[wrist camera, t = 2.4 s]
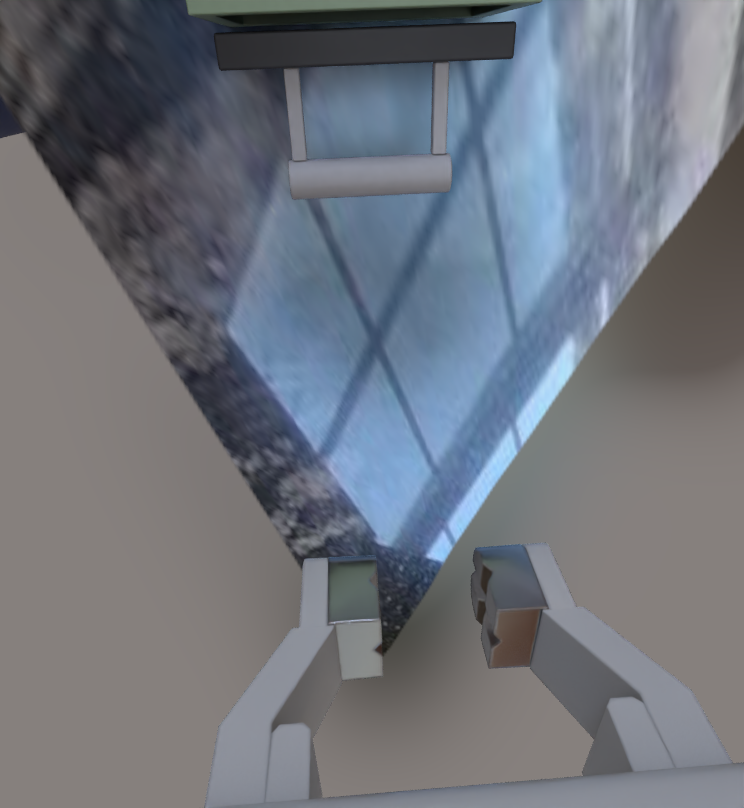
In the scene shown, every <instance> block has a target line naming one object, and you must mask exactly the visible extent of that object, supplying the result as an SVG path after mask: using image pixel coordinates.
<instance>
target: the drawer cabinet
mask: <svg viewBox="0 0 744 808" xmlns="http://www.w3.org/2000/svg"><path fill="white" fill-rule="evenodd" d="M541 1H542V0H186V4H187V10H188V14H189V15H191V16H194V17H197V18H201V19H204V20H208V21H211V22H215V23H218V24H222V25H225V26H229V27H245V26H271V25H297V24H323V23H350V22H376V21H402V20H428V19H454V18H481V17H486V16H490V15H494V14H498V13H502V12H506V11H509V10H513V9H517V8H521V7H525V6H529V5H532V4H536V3H540V2H541Z"/></svg>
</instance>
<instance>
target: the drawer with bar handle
mask: <svg viewBox="0 0 744 808" xmlns="http://www.w3.org/2000/svg"><path fill="white" fill-rule="evenodd" d="M515 33H516V22H514V21H512V22H486V23H460V24H434V25H408V26H382V27H356V28H330V29H304V30H279V31H253V32H227V33H215V34H214V40H215V47H216V53H217V59H218V66H219V69H220V70H221V71H227V70H251V69H276V68H284V69H283V71H284V81H285V90H286V100H287V110H288V119H289V129H290V139H291V148H292V158H293V160H290V161H289V164H288V170H289V183H290V191H291V196H292V199H294V200H296V199H317V198H338V197H358V196H379V195H400V194H420V193H441V192H449V190H450V188H451V182H452V162H451V156H450V154H449V153H446V141H447V113H448V86H449V62H448V61H472V60H497V59H511V58H513V55H514V44H515ZM423 62H433V70H432V115H431V153H432V154H416V155H394V156H373V157H351V158H329V159H308V160H307V149H306V138H305V127H304V116H303V105H302V94H301V83H300V72H299V68H300V67H325V66H349V65H374V64H399V63H423Z"/></svg>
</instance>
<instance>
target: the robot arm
mask: <svg viewBox="0 0 744 808" xmlns="http://www.w3.org/2000/svg"><path fill="white" fill-rule="evenodd" d="M473 562H474V566H475V570H476V571H475V572H474V573H473V574H472V575H471V597H472V604H473V608H474V613H475V617H476V620H477V621H478V622H479V623H480V624H481V625H482V633H481V641H482V645H483V649H484V652H485V656H486V660H487V663H488V668H489V669H490V668H511V667H530V669H531V670H532V671H533V673H534V674H535V675H536V676H537V677H538V678H539V679H540V680H541V681H542V683H544V685H545V686H546V687H547V688H548V689H549V690H550V691H551V692H552V694H553V695H554V696H555V697H556V698H557V699H558V700H559V701H560V702H561V703H562V705H563V706H564V707H565V708H566V709H567V710H568V711H569V712H570V713H571V715H572V716H573V717H574V718H575V719H576V720H577V721H578V722H579V723H580V724H581V726H582V727H583V728H584V729H585V730H586V731H587V732H588V733H589V734H590V736H591V737H592V738H593V739H594V741H593V744H592V747H591V750H590V752H589V755H588V758H587V760H586V763H585V765H584V768H583V771H582V774H583V776H577V777H564V778H553V779H541V780H529V781H517V782H505V783H493V784H482V785H470V786H459V787H458V786H457V787H445V788H433V789H422V790H411V791H398V792H387V793H375V794H364V795H351V796H340V797H328V798H322V790H321V785H320V779H319V773H318V767H317V761H316V756H315V750H314V744H313V738H314V736H315V734H316V732H317V730H318V728H319V726H320V725H321V722H322V721H323V719H324V716H325V715H326V713H327V711H328V709H329V707H330V706H331V704H332V702H333V700H334V698H335V696H336V694H337V692H338V690H339V688H340V686H341V684H342V681H347V680H355V679H366V678H375V677H383V657H382V644H381V643H382V634H381V617H380V603H379V590H378V583H377V567H376V556H375V555H374V556H351V557H329V558H314V559H305V560H304V563H303V572H302V588H301V606H300V622H299V627H298V628H292V629H291V630H290V632H289V633H288V634H287V636H286V637H285V638H284V640H283V641H282V642H281V644H280V645H279V646H278V648H277V649H276V650H275V652H274V653H273V654H272V656H271V657H270V658H269V660H268V661H267V662H266V664H265V665H264V667H263V668H262V669H261V670H260V672H259V673H258V674H257V676H256V677H255V678H254V680H253V681H252V683H251V684H250V685H249V686H248V688H247V689H246V690H245V692H244V693H243V694H242V696H241V697H240V699H239V700H238V701H237V703H236V704H235V705H234V707H233V708H232V709H231V711H230V712H229V713H228V715H227V716H226V718H225V719H224V720H223V721H222V723H221V724H220V725H219V727H218V732H217V738H216V744H215V749H214V755H213V761H212V767H211V772H210V778H209V783H208V789H207V794H206V800H205V806H204V808H744V763H733V762H732V760H731V759H730V757H729V755H728V754H727V752H726V750H725V748H724V747H723V745H722V743H721V741H720V739H719V737H718V736H717V734H716V732H715V730H714V729H713V727H712V725H711V723H710V722H709V720H708V718H707V716H706V714H705V713H704V711H703V709H702V707H701V706H700V704H699V702H698V701H697V699H696V697H695V695H694V693H693V692H692V690H691V689H690V688H688V687H687V686H686V685H684V684H683V683H682V682H681V681H679V680H678V679H677V678H675V677H674V676H673V675H672V674H670V673H669V672H668V671H666V670H665V669H664V668H663V667H661V666H660V665H659V664H657V663H656V662H655V661H653V660H652V659H651V658H650V657H648V656H647V655H646V654H644V653H643V652H642V651H641V650H639V649H638V648H637V647H635V646H634V645H633V644H632V643H630V642H629V641H628V640H626V639H625V638H624V637H623V636H621V635H620V634H619V633H617V632H616V631H615V630H613V629H612V628H611V627H609V626H608V625H607V624H606V623H605V622H603V621H602V620H601V619H599V618H598V617H597V616H596V615H594V614H593V613H592V612H590V611H589V610H588V609H587V608H585V607H577V606H576V604H575V601H574V599H573V597H572V595H571V592H570V590H569V588H568V586H567V584H566V581H565V579H564V577H563V575H562V573H561V570H560V568H559V566H558V564H557V561H556V559H555V557H554V555H553V553H552V550H551V548H550V546H549V545H548V544H547V543H535V544H534V543H533V544H522V545H520V544H516V545H504V546H491V547H479V548H475V550H474V555H473Z"/></svg>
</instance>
